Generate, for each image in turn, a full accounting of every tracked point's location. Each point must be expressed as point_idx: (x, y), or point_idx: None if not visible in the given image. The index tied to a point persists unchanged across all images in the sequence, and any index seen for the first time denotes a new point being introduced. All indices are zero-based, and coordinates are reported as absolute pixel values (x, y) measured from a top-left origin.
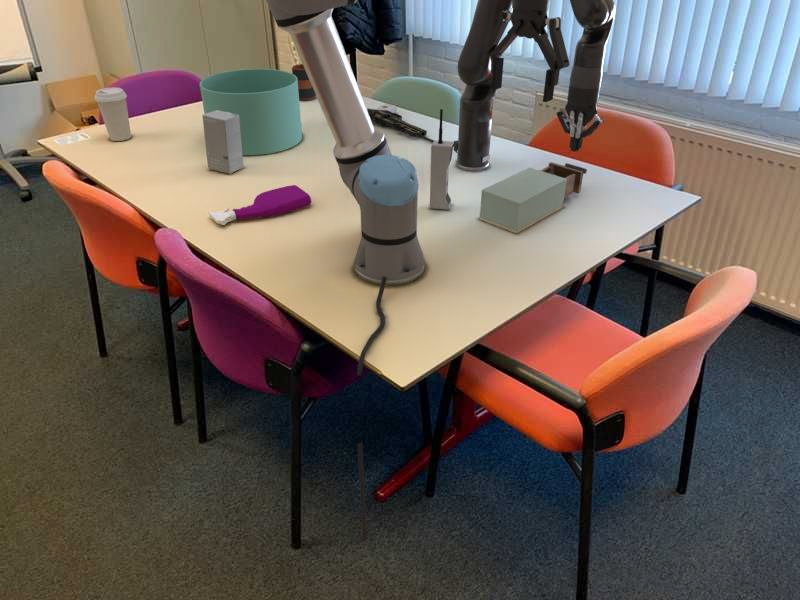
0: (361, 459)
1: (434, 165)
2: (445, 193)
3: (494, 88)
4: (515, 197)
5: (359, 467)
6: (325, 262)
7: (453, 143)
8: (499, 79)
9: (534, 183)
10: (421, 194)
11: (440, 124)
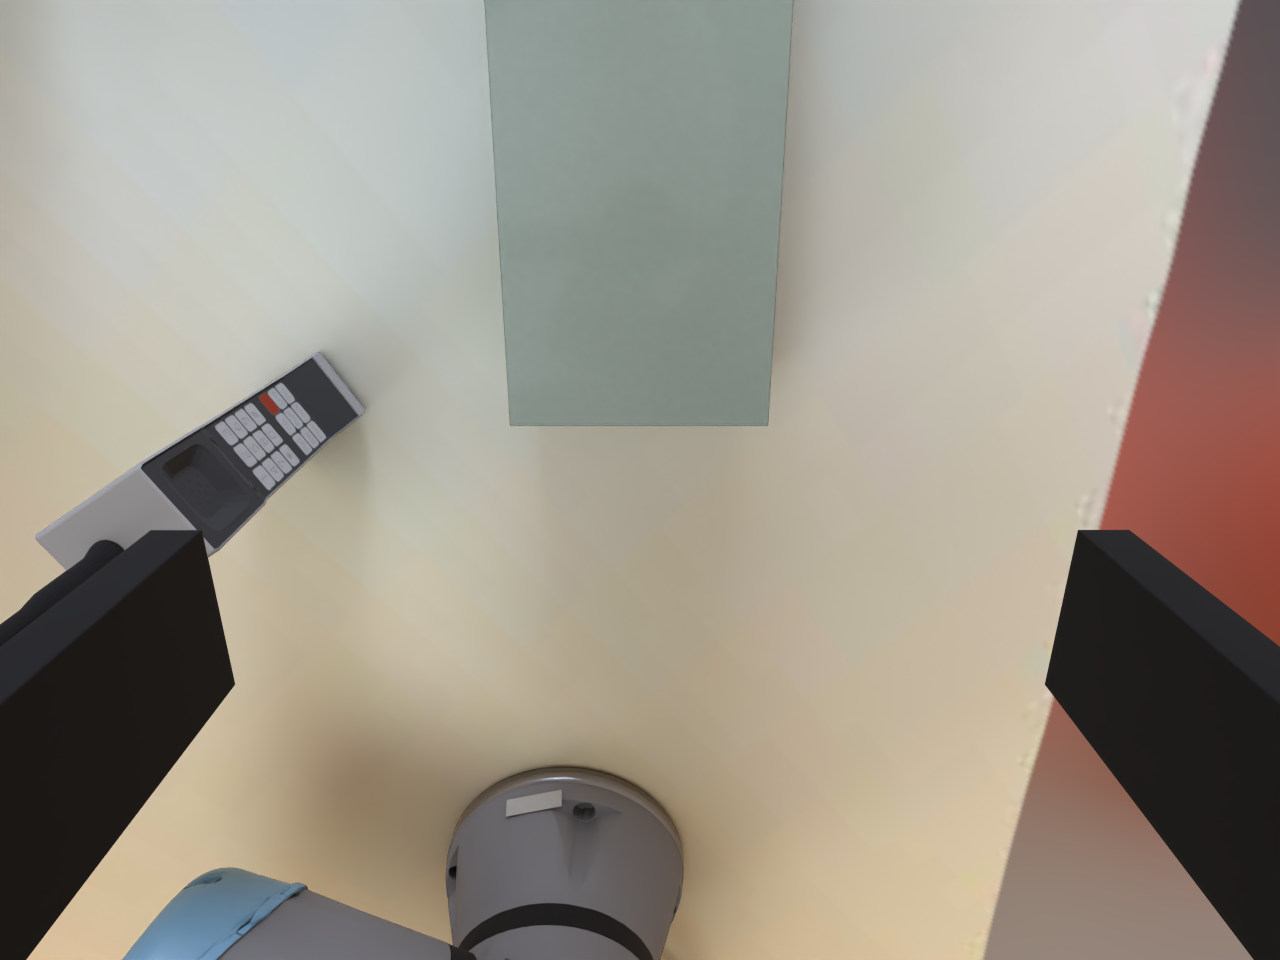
0: None
1: None
2: (321, 447)
3: (223, 694)
4: (707, 378)
5: None
6: None
7: (144, 462)
8: (137, 665)
9: (674, 115)
10: (128, 354)
11: None
